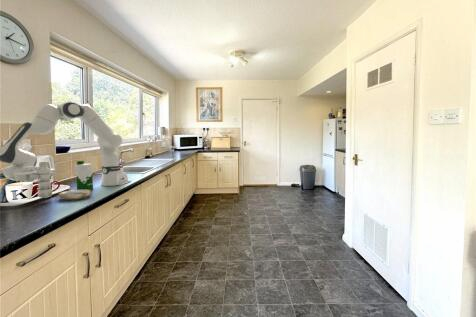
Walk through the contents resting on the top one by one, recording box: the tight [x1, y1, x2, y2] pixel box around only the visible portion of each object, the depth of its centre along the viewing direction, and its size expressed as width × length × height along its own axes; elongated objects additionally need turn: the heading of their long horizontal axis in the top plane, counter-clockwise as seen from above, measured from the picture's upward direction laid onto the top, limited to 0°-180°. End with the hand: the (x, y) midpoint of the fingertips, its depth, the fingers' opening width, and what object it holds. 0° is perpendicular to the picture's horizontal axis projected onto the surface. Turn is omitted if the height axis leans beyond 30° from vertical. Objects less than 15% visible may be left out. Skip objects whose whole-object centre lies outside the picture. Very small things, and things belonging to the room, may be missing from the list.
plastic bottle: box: [36, 161, 53, 199], centre depth 142 cm, size 6×7×20 cm
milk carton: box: [74, 160, 94, 191], centre depth 172 cm, size 9×9×20 cm
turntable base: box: [62, 196, 88, 202], centre depth 152 cm, size 12×12×2 cm
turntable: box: [58, 189, 92, 200], centre depth 152 cm, size 16×16×2 cm
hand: (45, 175), depth 141 cm, fingers closed on plastic bottle, 6 cm apart
